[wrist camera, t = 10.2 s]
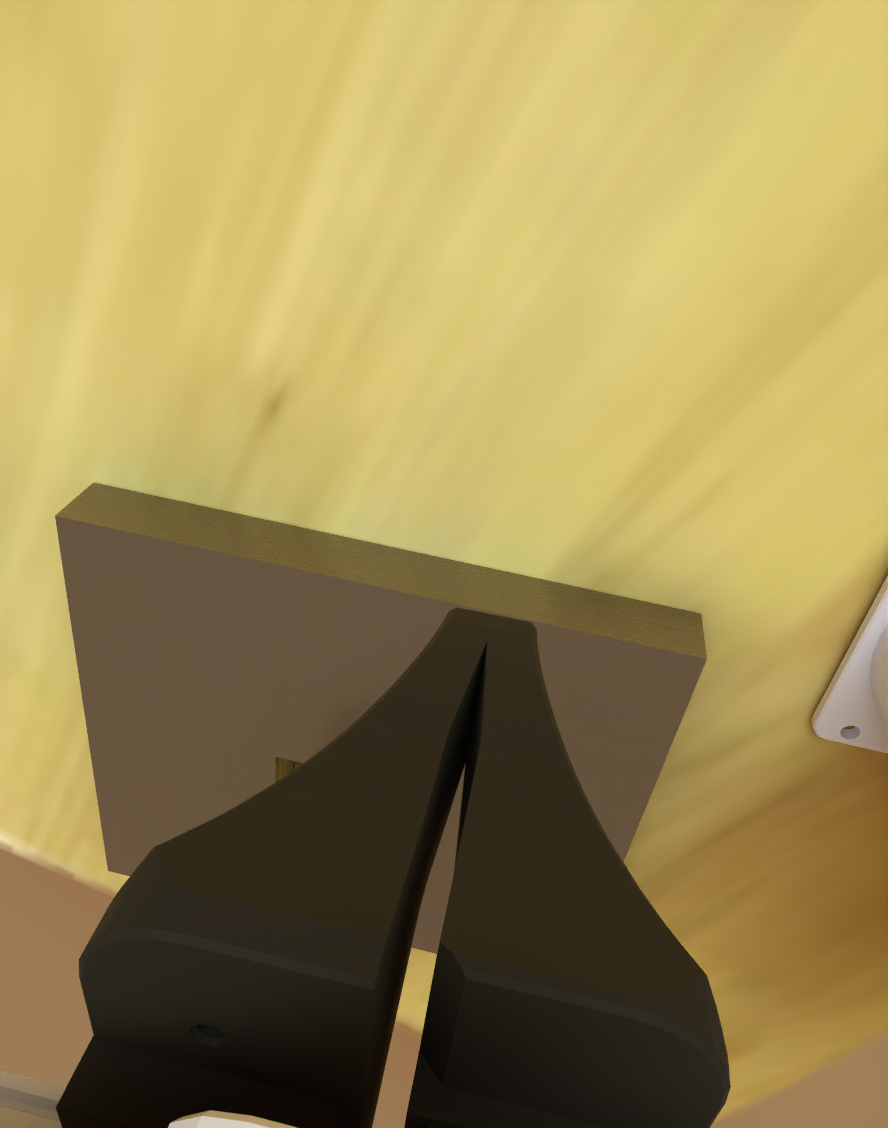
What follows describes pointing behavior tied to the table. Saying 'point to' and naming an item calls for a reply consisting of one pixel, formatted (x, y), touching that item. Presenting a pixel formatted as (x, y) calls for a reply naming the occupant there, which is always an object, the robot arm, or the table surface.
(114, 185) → the table surface
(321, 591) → the plate
